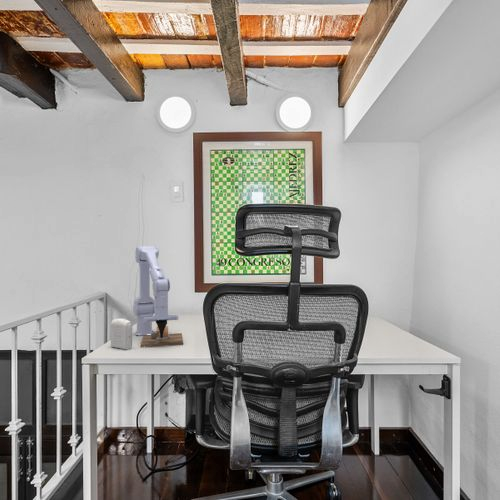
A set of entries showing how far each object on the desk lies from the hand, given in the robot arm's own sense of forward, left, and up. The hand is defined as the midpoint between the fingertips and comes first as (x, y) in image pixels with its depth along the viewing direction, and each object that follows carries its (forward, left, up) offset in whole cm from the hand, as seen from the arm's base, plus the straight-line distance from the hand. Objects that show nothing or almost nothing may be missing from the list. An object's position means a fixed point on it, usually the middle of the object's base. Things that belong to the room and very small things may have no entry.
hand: (161, 337), depth 169 cm
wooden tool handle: (-4, -1, -1) cm, 4 cm away
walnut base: (-8, 0, -3) cm, 8 cm away
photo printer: (0, -17, -4) cm, 17 cm away
